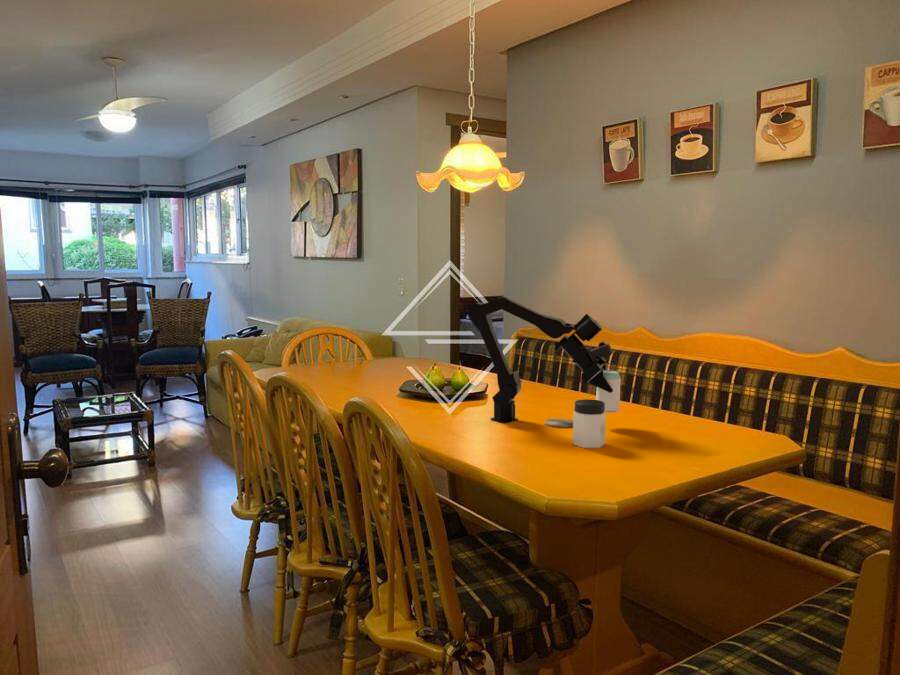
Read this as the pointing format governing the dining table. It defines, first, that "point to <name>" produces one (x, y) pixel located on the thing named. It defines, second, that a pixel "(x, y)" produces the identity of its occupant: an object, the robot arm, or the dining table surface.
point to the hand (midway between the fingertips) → (612, 389)
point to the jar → (589, 423)
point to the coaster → (559, 422)
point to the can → (614, 397)
